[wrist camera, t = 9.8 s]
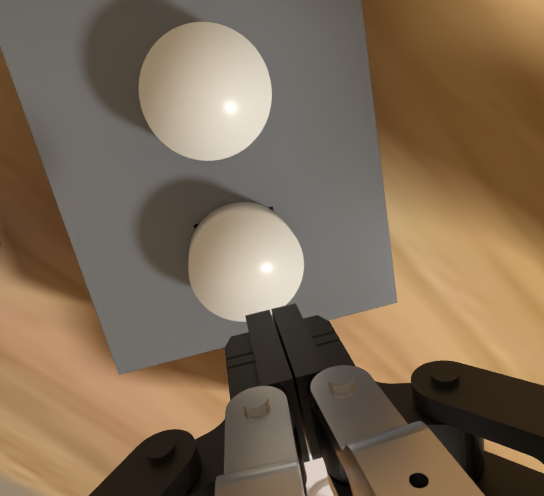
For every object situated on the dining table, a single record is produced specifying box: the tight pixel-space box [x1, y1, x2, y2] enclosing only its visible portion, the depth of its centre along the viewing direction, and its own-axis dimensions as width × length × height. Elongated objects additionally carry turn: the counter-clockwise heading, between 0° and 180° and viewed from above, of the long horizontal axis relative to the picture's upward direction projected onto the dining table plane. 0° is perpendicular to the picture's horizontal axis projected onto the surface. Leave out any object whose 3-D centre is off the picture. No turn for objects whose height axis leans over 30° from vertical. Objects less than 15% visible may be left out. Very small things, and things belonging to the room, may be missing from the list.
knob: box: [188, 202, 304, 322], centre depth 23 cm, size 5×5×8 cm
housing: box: [0, 0, 397, 375], centre depth 22 cm, size 14×23×6 cm, turn 11°
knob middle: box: [139, 22, 272, 161], centre depth 21 cm, size 5×5×8 cm
